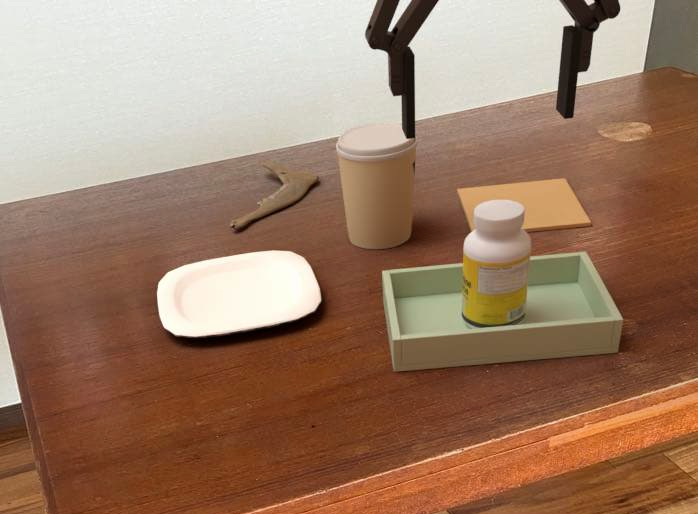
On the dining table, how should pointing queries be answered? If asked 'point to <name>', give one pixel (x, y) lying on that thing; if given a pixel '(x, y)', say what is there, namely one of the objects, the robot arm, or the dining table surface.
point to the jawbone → (280, 192)
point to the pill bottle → (496, 266)
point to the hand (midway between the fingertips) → (486, 124)
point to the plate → (237, 294)
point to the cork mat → (531, 203)
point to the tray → (503, 341)
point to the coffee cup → (377, 184)
